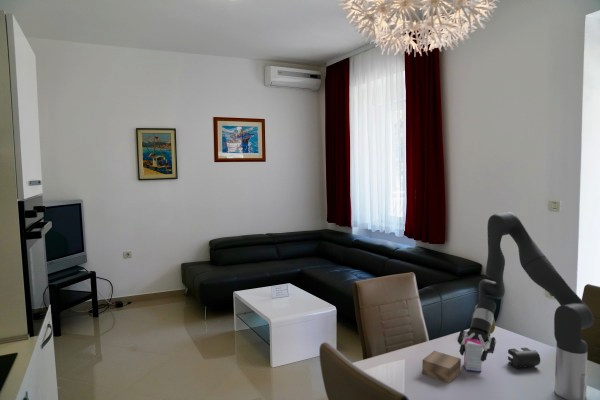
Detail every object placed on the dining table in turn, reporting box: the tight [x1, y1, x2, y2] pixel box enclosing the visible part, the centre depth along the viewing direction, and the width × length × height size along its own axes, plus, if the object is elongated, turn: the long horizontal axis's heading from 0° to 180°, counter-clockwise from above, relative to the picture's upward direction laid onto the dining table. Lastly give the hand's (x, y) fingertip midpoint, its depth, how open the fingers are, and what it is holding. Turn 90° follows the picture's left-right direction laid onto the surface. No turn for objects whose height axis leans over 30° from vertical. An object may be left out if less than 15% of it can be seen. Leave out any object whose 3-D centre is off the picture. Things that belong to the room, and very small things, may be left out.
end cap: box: [507, 346, 541, 369], centre depth 168 cm, size 10×7×7 cm
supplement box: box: [463, 337, 483, 373], centre depth 166 cm, size 6×6×12 cm
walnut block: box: [421, 350, 462, 384], centre depth 163 cm, size 11×11×6 cm
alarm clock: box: [471, 304, 496, 337], centre depth 198 cm, size 12×7×15 cm, turn 10°
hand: (471, 357), depth 165 cm, fingers closed on supplement box, 7 cm apart
